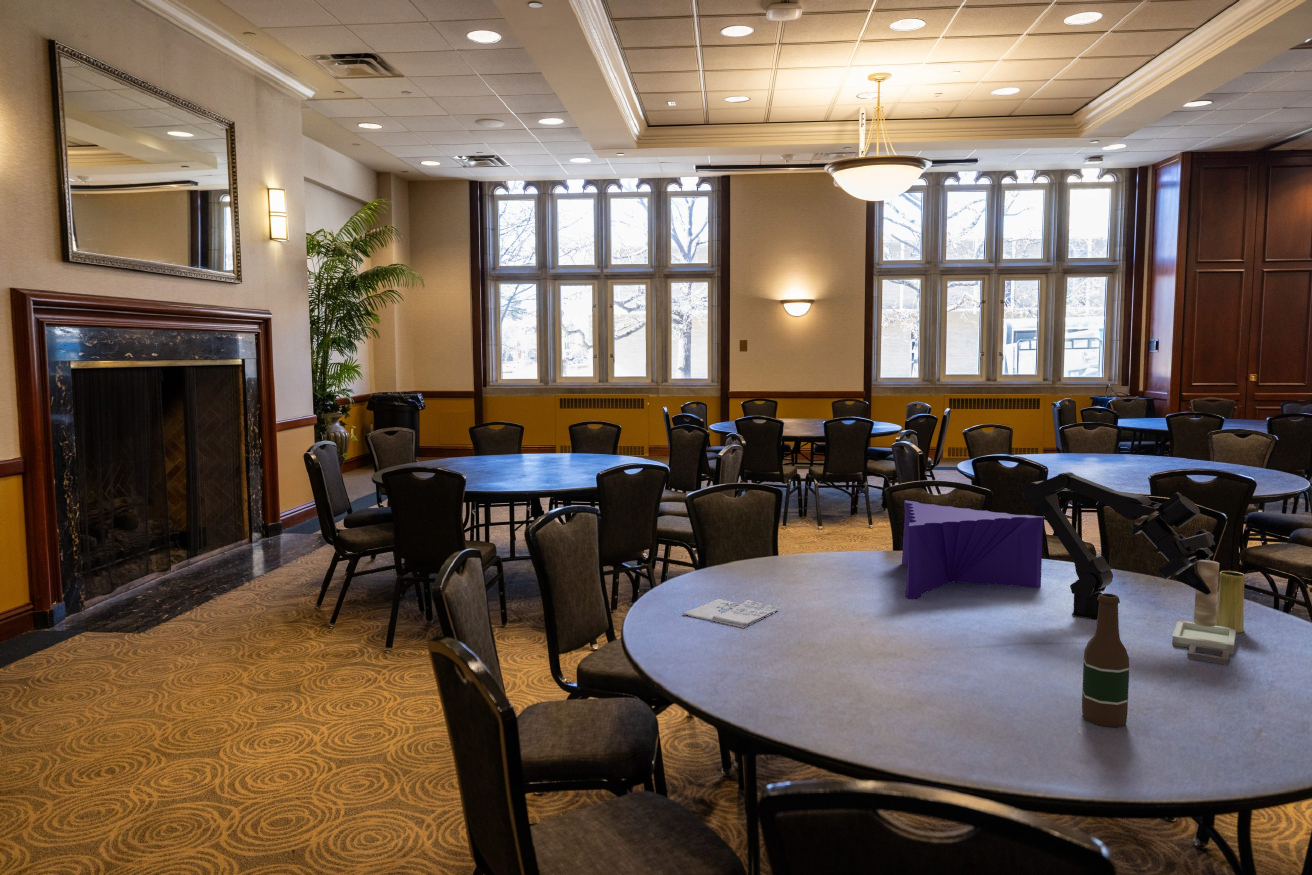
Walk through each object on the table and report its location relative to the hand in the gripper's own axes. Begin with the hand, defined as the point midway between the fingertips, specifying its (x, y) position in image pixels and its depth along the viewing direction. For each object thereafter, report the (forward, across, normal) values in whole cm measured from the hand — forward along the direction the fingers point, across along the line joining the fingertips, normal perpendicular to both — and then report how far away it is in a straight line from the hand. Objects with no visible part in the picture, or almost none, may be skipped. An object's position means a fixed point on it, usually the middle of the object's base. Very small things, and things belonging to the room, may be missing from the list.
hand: (1213, 591), depth 202 cm
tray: (+8, 0, +10) cm, 12 cm away
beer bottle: (+11, -64, +7) cm, 65 cm away
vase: (+9, +15, +9) cm, 19 cm away
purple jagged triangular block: (-40, -3, +59) cm, 72 cm away
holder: (+11, -11, +6) cm, 17 cm away
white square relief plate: (-55, -70, +75) cm, 116 cm away
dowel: (+5, 0, +7) cm, 8 cm away
